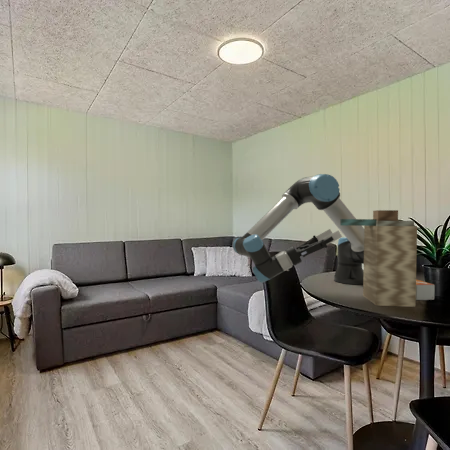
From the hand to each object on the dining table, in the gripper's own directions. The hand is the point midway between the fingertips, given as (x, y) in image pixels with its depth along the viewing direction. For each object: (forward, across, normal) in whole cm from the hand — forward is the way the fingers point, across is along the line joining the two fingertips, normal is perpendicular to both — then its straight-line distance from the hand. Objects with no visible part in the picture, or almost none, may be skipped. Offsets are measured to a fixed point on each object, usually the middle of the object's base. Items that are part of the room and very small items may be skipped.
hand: (335, 232), depth 121 cm
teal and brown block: (+12, -1, -4) cm, 13 cm away
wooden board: (+4, 0, -34) cm, 34 cm away
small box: (+17, -16, -37) cm, 44 cm away
